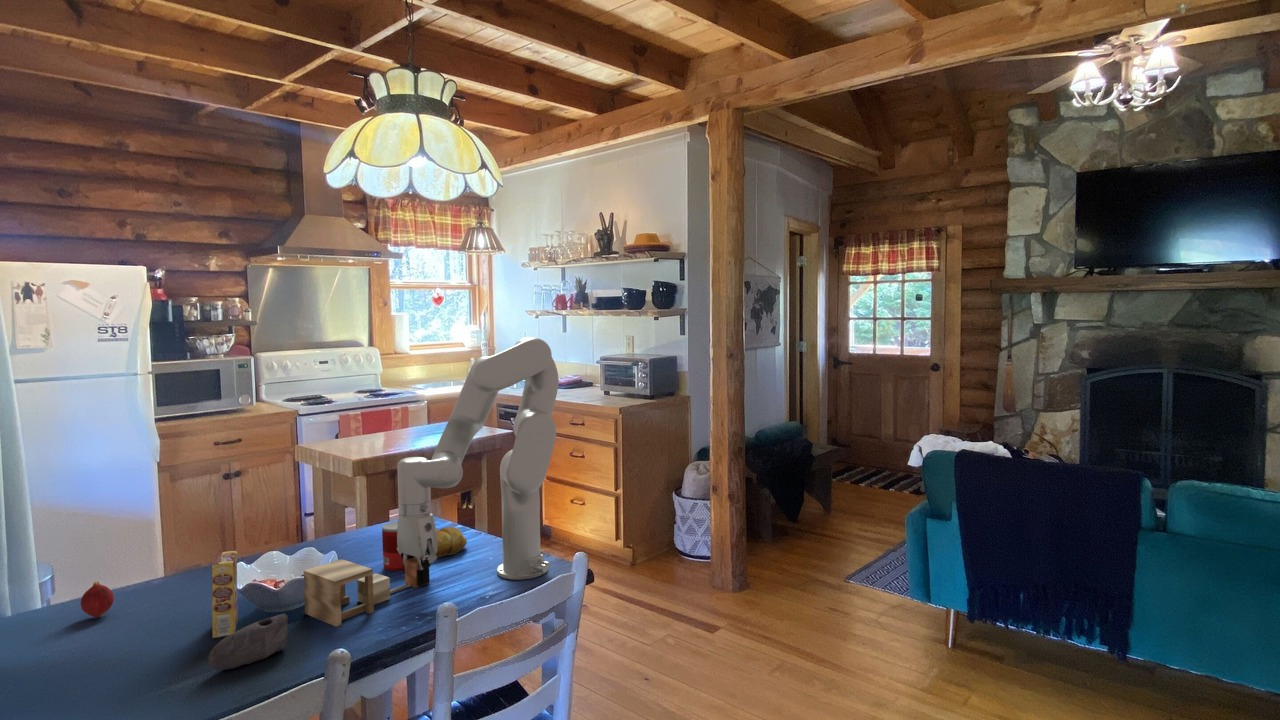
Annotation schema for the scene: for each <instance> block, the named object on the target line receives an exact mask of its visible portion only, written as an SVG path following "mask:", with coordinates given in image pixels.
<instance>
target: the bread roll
mask: <svg viewBox="0 0 1280 720" xmlns="http://www.w3.org/2000/svg"><path fill="white" fill-rule="evenodd" d="M436 535H437V553H435V554H436V556H437V559H438V558H442V557H444V556H451V555H455V554H458V553H460V551H462V550H463V549H464V548H465V547H466V545H467V542H468V540H467V538H466V537H465V536H464V534H463V532H462V531H461V530H460V529H459V528H457V527H453V526H445V527H443V528H441V529H439V528H437V527H436Z"/></svg>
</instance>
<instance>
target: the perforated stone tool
mask: <svg viewBox="0 0 1280 720" xmlns="http://www.w3.org/2000/svg"><path fill="white" fill-rule="evenodd" d="M288 623H289V616H288V615H287V614H286V613H281V614H277V615H274V616H271V617H267V618H265V619H262V620H258V621H256V622H254V623H251V624H248V625H247V626H244V627H242V628H240V629H238V630H235V632H234V633H233V634H231V635H229V636H225V637H223V639H221V640H220V641H218V643H216V644H215V645H214V646H213V648H212V649H211V651H210V652H209V655H208V660H207V661H208V665H209V666H210V667H211V668H212V669H213V670H217V671H225V670H232V669H235V668H238V667H240V666H241V667H242V665H243V666H244V665H249V664H252V663H255V662H259V661H261V660H265V659H267V658H269V657H270V656H272V655H273V654H275V653H278V652H281V651H283V650H286V645H287V639H288V627H289V625H288Z"/></svg>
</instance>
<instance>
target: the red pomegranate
mask: <svg viewBox="0 0 1280 720" xmlns="http://www.w3.org/2000/svg"><path fill="white" fill-rule="evenodd" d="M114 601H115V595H114V593H113V591H112V589H111V588H110V587H108V586H106V585H103V584H101V583H100V582H99V581H97V580H95V581H94V582H93V585H92V586H91V587H90V588H89V589H87V590H86V591H85V592H84V593H83V595H82V597H81V599H80V607H81V610H82V611H83V612H84V614H87V615H89V616H90V617H94V618H96V617H98V618H100V617H102V616H103V615H104V614H106V613H107V612H108V611H109V610H110V608H112V606H113V604H114ZM101 615H102V616H101ZM99 616H100V617H99Z"/></svg>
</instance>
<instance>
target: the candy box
mask: <svg viewBox="0 0 1280 720" xmlns="http://www.w3.org/2000/svg"><path fill="white" fill-rule="evenodd" d="M237 555H238V553H237V550H229V551H223V552H216V553H215V554H214V558H213V561H212V564H211V611H212V615H211V616H212V619H211V621H212V639H217V638H222V637H223V638H225V637H227V636H229V635H231V634H233V633H234V632H236V629H237V628H236V627H237V623H238V618H239V617H238V616H239V615H238V614H239V611H238V609H239V608H238V606H239V605H238V602H239V601H238V564H237V563H238V558H237Z"/></svg>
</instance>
